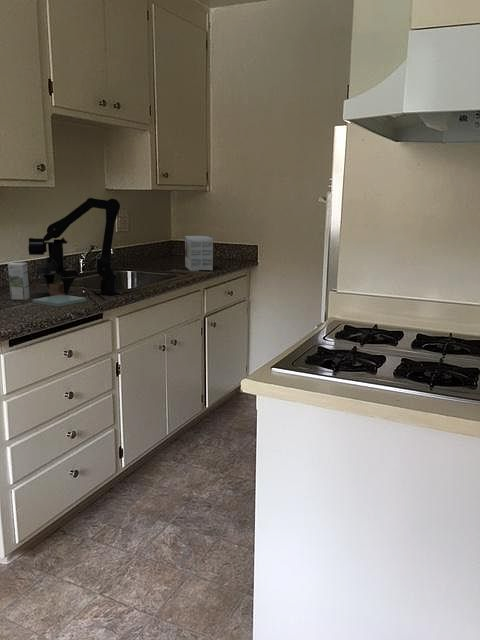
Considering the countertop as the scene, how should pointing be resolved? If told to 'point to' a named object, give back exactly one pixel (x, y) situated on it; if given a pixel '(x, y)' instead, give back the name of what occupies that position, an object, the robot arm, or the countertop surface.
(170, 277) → the countertop surface
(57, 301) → the plate
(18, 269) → the syrup box
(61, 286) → the walnut cube
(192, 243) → the supplement box
